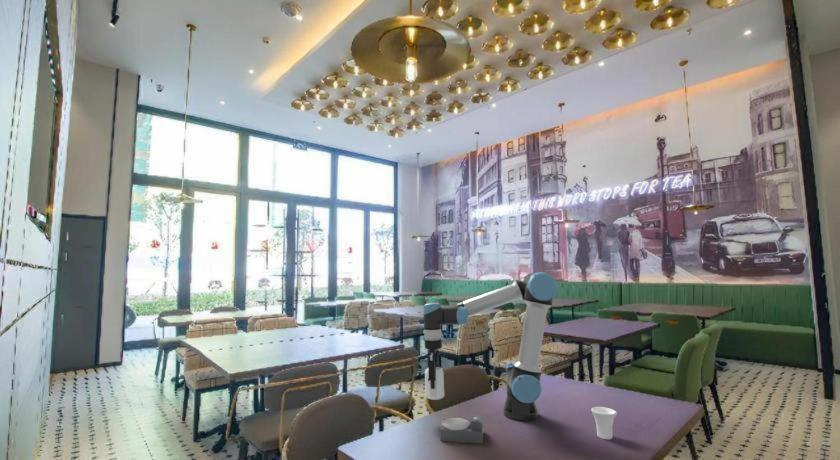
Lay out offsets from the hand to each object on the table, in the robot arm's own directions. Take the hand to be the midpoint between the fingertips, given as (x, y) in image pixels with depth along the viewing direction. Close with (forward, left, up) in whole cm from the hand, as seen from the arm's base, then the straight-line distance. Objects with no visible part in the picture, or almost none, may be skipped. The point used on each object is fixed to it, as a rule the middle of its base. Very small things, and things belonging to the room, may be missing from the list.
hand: (434, 393), depth 169 cm
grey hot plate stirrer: (-12, +11, -13) cm, 21 cm away
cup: (-67, +2, -13) cm, 69 cm away
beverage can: (0, 0, -2) cm, 2 cm away
